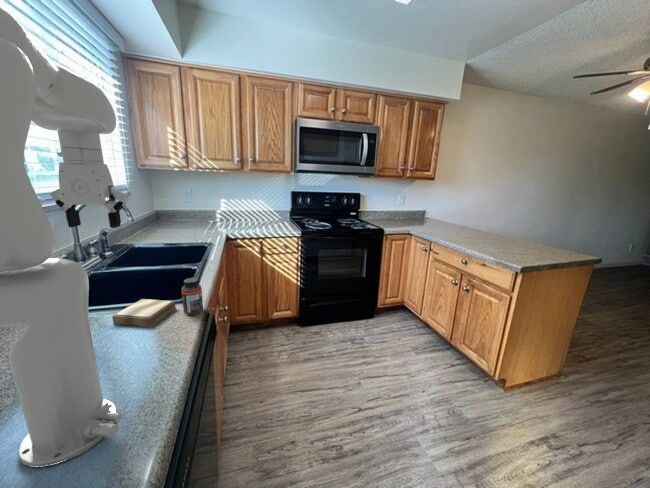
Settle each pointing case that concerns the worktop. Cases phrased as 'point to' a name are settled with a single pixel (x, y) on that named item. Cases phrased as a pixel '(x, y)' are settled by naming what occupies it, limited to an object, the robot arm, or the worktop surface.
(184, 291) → the supplement bottle
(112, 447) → the worktop surface
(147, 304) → the light wooden flat block
